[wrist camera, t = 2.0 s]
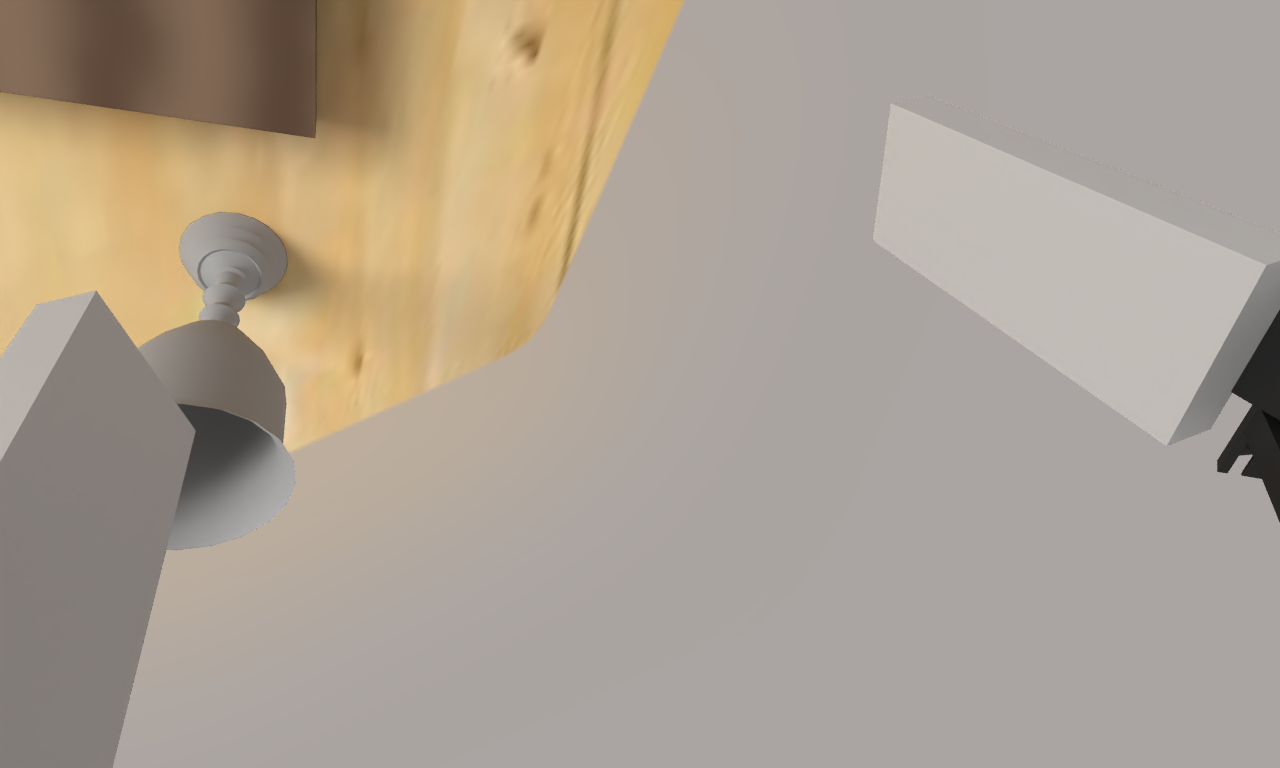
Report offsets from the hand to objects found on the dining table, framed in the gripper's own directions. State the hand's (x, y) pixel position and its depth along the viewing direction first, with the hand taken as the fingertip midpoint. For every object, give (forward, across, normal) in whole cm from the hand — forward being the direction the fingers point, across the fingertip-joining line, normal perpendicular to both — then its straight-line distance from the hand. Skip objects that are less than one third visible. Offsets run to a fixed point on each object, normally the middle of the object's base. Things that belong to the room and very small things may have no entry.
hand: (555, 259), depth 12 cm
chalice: (+29, -13, -10) cm, 33 cm away
